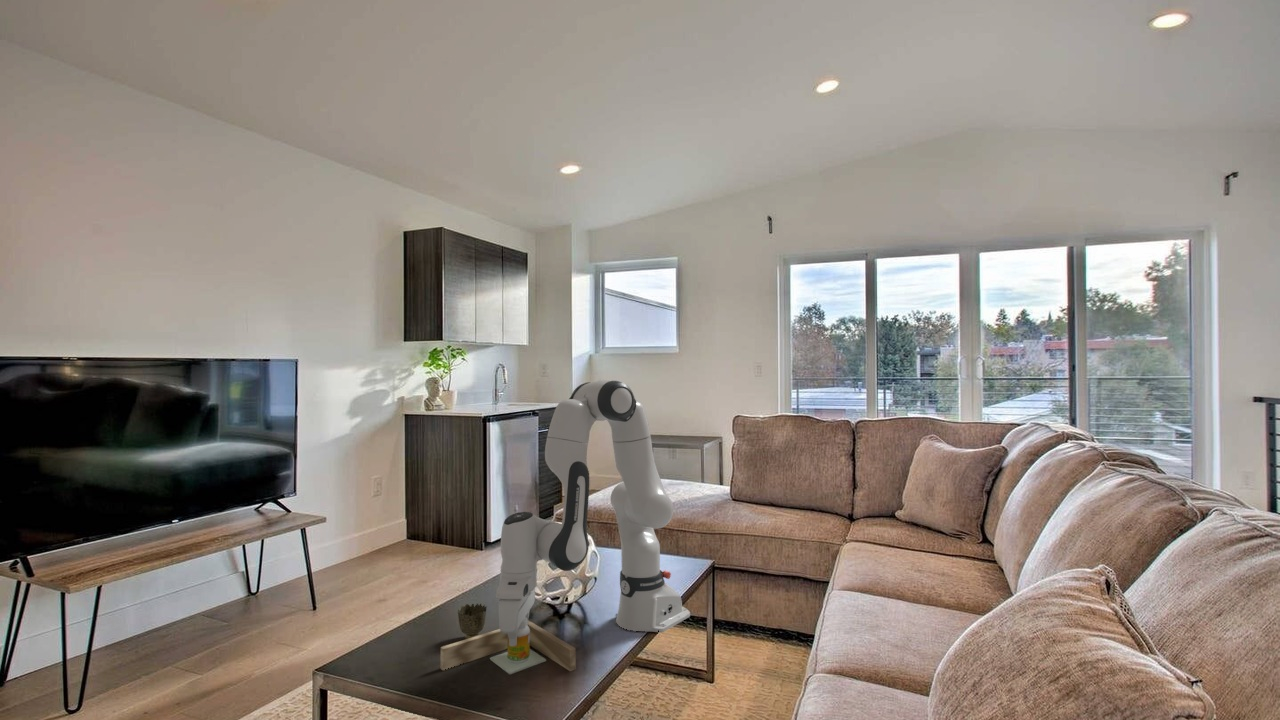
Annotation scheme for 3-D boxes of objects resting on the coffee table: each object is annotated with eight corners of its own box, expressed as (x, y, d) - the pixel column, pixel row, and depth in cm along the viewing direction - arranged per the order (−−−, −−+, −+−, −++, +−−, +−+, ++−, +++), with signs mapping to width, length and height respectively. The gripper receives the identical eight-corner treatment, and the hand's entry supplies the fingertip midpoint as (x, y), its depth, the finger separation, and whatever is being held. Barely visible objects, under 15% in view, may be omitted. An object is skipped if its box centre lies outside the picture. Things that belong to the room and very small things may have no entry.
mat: (525, 647, 152) (525, 645, 152) (546, 661, 145) (546, 659, 145) (489, 659, 146) (489, 657, 146) (509, 674, 138) (509, 672, 138)
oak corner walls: (527, 639, 157) (527, 620, 157) (575, 669, 141) (575, 648, 141) (440, 668, 141) (440, 647, 141) (482, 706, 125) (482, 682, 125)
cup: (478, 645, 153) (478, 614, 153) (452, 643, 154) (452, 612, 155) (491, 633, 160) (491, 604, 161) (466, 631, 162) (466, 602, 162)
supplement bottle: (505, 664, 142) (506, 623, 143) (508, 653, 148) (509, 614, 148) (528, 663, 143) (528, 622, 143) (530, 652, 148) (530, 614, 148)
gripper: (517, 566, 156) (517, 618, 156) (493, 594, 136) (493, 655, 136) (540, 566, 156) (540, 619, 156) (520, 595, 136) (520, 655, 135)
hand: (518, 636), depth 145 cm, fingers open, 8 cm apart
